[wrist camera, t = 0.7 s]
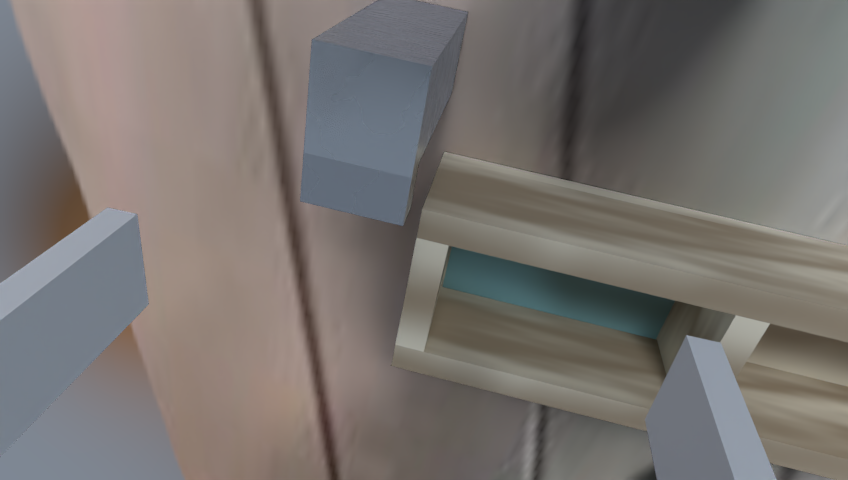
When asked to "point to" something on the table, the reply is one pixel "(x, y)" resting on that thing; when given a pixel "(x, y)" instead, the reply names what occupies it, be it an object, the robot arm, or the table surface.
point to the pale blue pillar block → (377, 105)
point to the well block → (625, 305)
